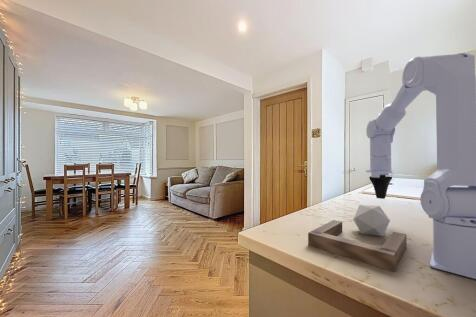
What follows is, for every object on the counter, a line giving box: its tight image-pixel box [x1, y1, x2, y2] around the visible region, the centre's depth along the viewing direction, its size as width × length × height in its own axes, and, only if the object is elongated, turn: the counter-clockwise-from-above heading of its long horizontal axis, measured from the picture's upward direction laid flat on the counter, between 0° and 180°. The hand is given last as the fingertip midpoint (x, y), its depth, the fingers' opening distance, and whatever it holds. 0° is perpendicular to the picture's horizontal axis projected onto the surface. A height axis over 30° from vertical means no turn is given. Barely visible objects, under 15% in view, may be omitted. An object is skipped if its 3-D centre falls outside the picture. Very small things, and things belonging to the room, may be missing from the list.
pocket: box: [307, 219, 408, 272], centre depth 50 cm, size 17×16×3 cm
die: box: [353, 204, 391, 237], centre depth 59 cm, size 8×9×10 cm
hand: (380, 198), depth 68 cm, fingers closed
